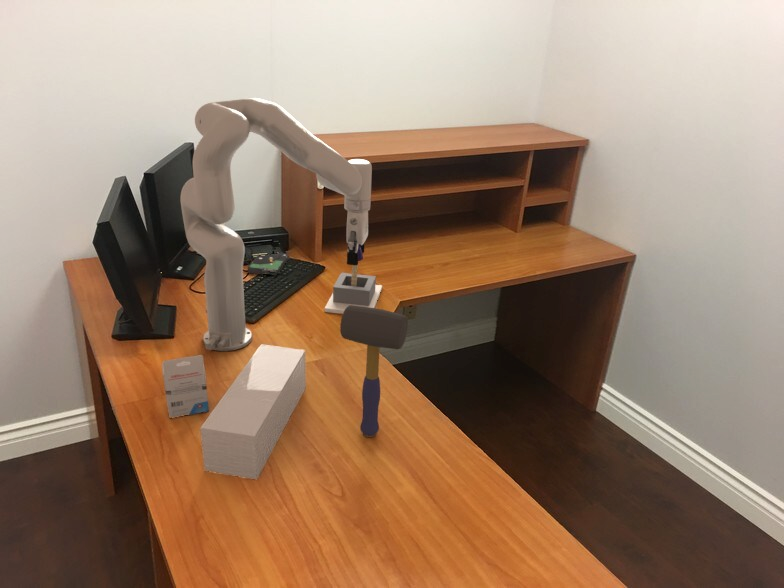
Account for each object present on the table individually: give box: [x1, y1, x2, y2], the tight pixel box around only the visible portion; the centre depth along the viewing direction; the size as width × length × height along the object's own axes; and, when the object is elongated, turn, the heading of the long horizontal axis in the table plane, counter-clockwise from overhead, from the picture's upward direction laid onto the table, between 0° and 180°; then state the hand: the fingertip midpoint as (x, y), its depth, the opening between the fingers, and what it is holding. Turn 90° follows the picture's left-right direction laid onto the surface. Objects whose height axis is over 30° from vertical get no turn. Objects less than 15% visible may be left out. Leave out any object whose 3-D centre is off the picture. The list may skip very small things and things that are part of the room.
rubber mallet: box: [339, 305, 409, 438], centre depth 128 cm, size 12×8×30 cm, turn 73°
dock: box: [324, 272, 383, 315], centre depth 191 cm, size 20×14×6 cm
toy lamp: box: [351, 245, 364, 287], centre depth 188 cm, size 5×5×17 cm
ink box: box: [161, 354, 210, 419], centre depth 135 cm, size 8×5×15 cm, turn 114°
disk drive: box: [247, 252, 290, 275], centre depth 212 cm, size 10×3×15 cm
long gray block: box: [199, 343, 307, 480], centre depth 133 cm, size 32×11×11 cm, turn 170°
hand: (355, 258), depth 186 cm, fingers open, 9 cm apart
